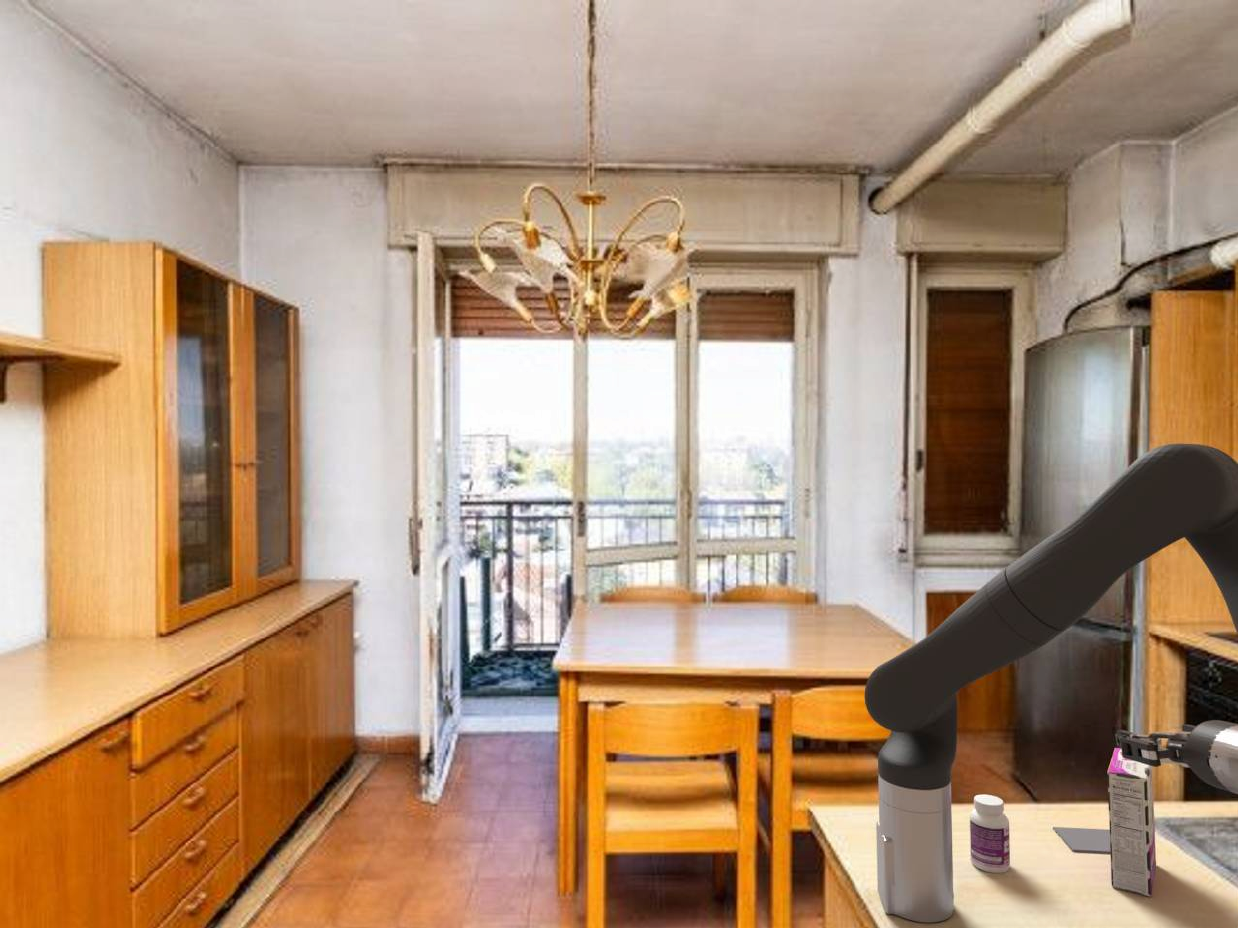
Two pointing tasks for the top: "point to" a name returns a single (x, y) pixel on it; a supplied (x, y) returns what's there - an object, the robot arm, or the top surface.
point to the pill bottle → (989, 835)
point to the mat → (1085, 839)
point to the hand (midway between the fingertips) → (1152, 735)
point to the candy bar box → (1131, 825)
